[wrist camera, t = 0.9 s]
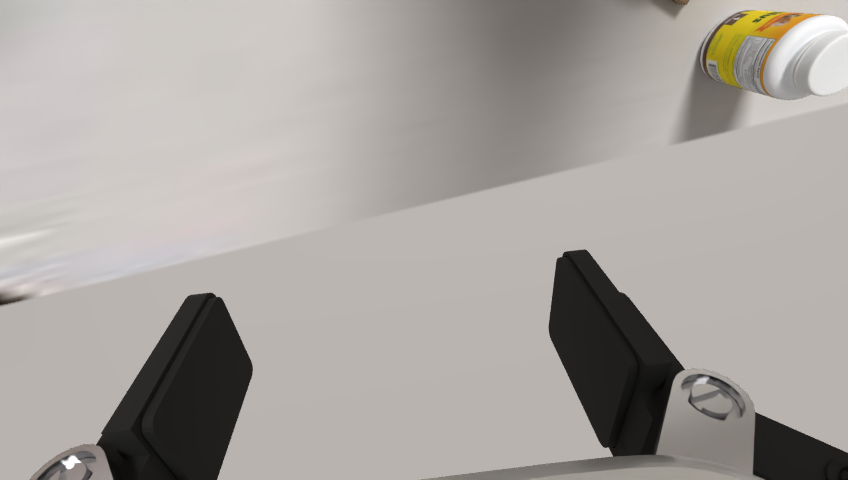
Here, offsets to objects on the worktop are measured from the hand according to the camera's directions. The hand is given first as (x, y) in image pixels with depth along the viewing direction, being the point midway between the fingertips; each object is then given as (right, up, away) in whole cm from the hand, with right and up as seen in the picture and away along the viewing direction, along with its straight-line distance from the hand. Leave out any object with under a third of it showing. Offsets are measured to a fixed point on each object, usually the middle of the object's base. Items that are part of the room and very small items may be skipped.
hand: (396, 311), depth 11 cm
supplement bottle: (+27, +19, +24) cm, 41 cm away
